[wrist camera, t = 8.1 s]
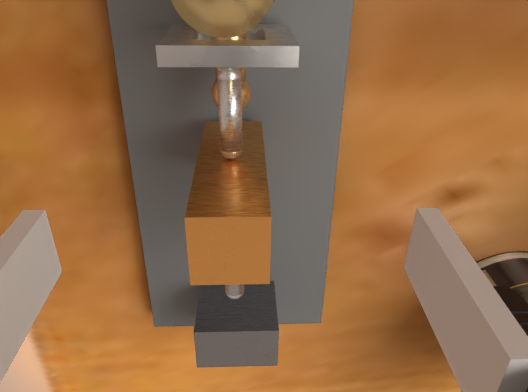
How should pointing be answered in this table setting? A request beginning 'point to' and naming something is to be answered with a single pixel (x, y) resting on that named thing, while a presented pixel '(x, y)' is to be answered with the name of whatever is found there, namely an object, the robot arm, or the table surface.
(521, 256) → the coffee can
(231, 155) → the wooden handled lever
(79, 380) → the table surface
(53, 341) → the table surface
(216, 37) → the brass round knobbed piece
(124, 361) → the table surface
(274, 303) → the block
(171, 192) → the board
